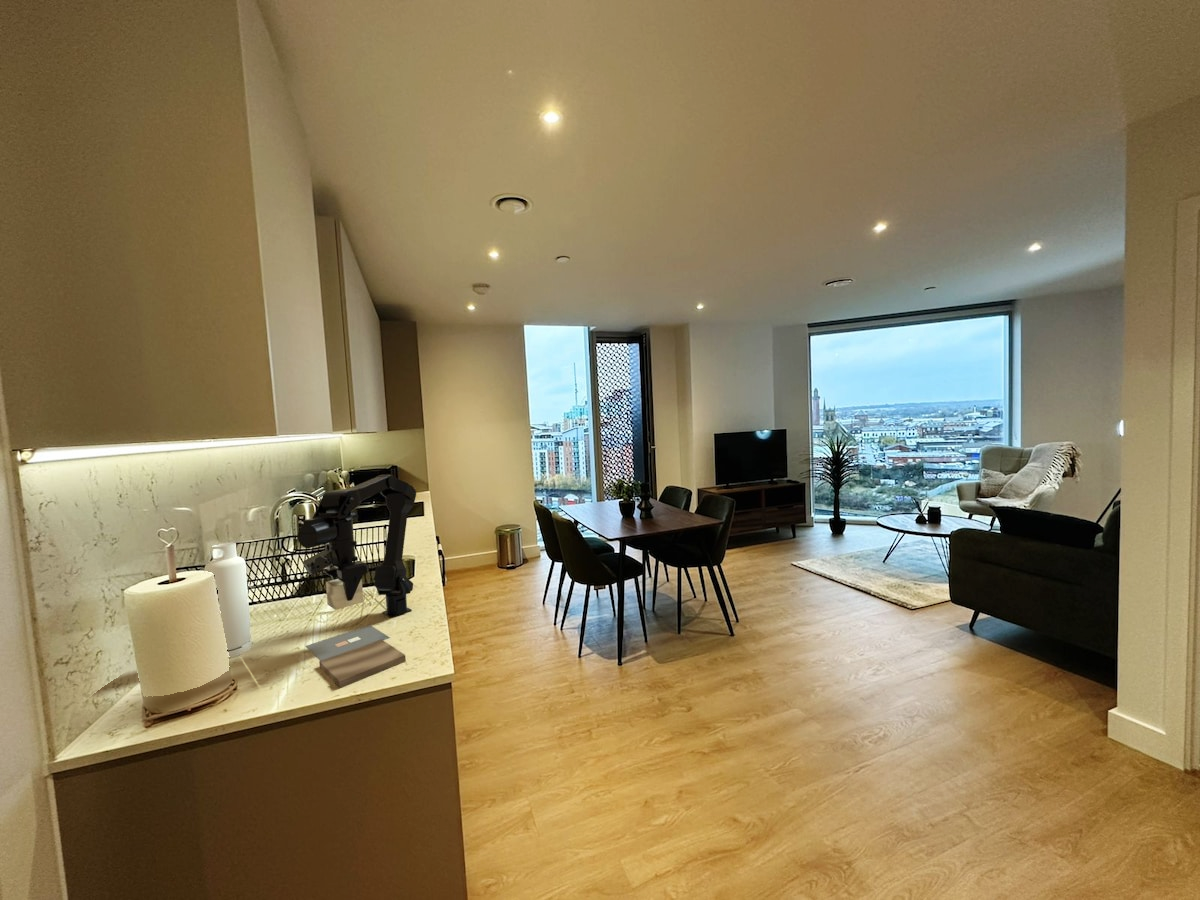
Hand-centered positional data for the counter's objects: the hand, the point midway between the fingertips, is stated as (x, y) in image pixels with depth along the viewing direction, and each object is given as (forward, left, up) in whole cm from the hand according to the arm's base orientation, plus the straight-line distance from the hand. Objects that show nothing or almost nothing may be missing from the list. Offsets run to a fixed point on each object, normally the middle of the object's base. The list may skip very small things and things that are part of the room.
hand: (345, 597), depth 116 cm
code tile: (0, 0, -12) cm, 12 cm away
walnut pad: (+16, -2, -12) cm, 20 cm away
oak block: (0, 0, -2) cm, 2 cm away
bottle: (-20, -21, -12) cm, 31 cm away
